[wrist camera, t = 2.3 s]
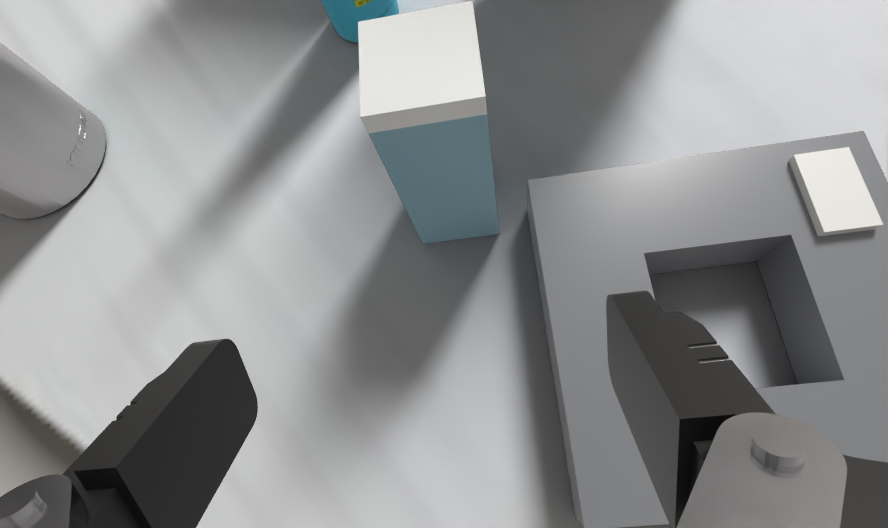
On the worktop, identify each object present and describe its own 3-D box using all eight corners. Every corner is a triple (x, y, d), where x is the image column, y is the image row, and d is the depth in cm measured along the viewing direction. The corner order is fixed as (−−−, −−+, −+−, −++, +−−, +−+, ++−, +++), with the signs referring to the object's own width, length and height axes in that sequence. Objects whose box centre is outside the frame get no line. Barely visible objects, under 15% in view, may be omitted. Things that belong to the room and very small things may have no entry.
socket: (575, 517, 23) (586, 532, 19) (526, 209, 28) (527, 174, 25) (954, 491, 21) (1048, 501, 17) (821, 169, 27) (870, 124, 23)
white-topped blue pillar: (422, 244, 29) (360, 116, 17) (417, 177, 30) (358, 21, 19) (499, 233, 28) (485, 96, 17) (490, 166, 30) (472, 0, 19)
